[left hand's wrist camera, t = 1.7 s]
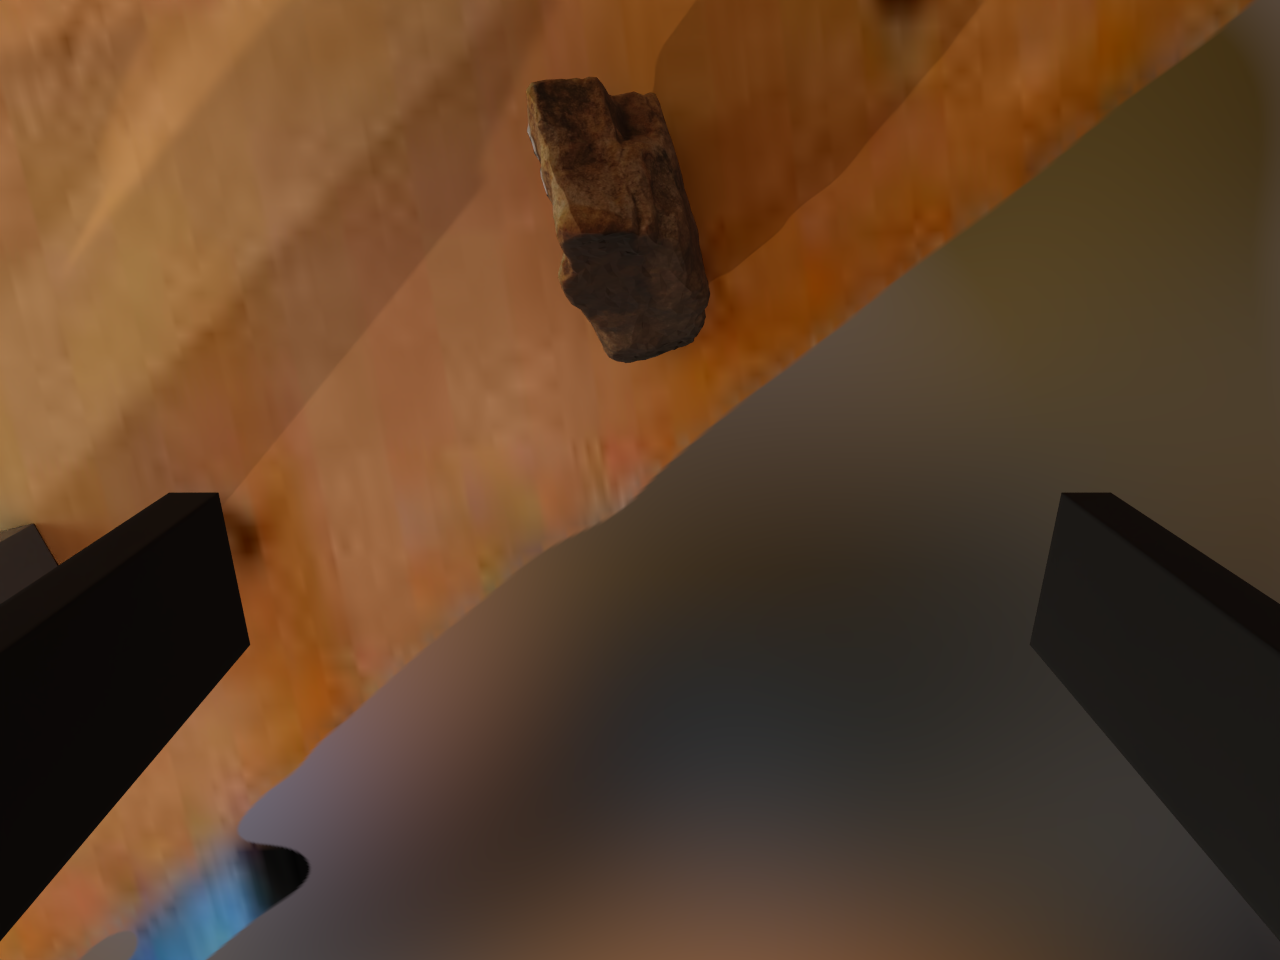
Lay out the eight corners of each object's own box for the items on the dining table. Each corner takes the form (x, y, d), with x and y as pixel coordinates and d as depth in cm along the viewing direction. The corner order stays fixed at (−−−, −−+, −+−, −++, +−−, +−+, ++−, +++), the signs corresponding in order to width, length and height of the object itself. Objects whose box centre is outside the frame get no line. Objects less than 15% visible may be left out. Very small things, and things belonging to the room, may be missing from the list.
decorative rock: (536, 108, 36) (496, 78, 25) (667, 78, 35) (678, 36, 25) (594, 362, 40) (579, 422, 30) (711, 338, 39) (737, 391, 29)
